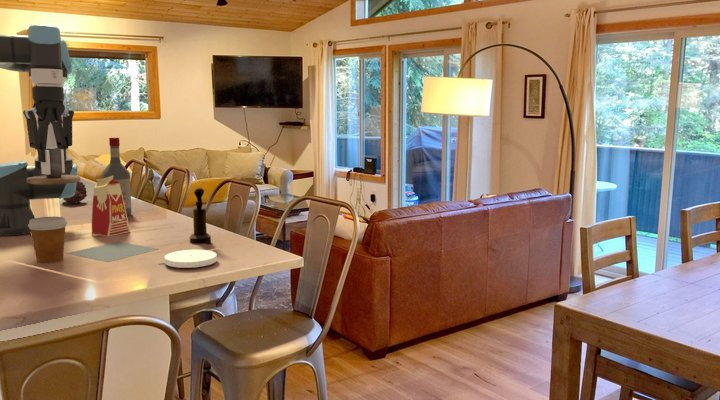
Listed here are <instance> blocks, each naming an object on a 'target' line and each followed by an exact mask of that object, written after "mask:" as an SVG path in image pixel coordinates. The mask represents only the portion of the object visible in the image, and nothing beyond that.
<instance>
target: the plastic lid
mask: <svg viewBox="0 0 720 400" xmlns="http://www.w3.org/2000/svg"><path fill="white" fill-rule="evenodd" d="M163 259H164V264H165V265H167V266H168V267H172V268H179V269H180V268H183V269H186V268H199V267H206V266H210V265H212V264H215V263H216V262H217V260H218V254H217V253H216V252H215V251H212V250H208V249H207V250H206V249H183V250H176V251H173V252H170V253H167V254H166V255H164V258H163Z"/></svg>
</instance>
